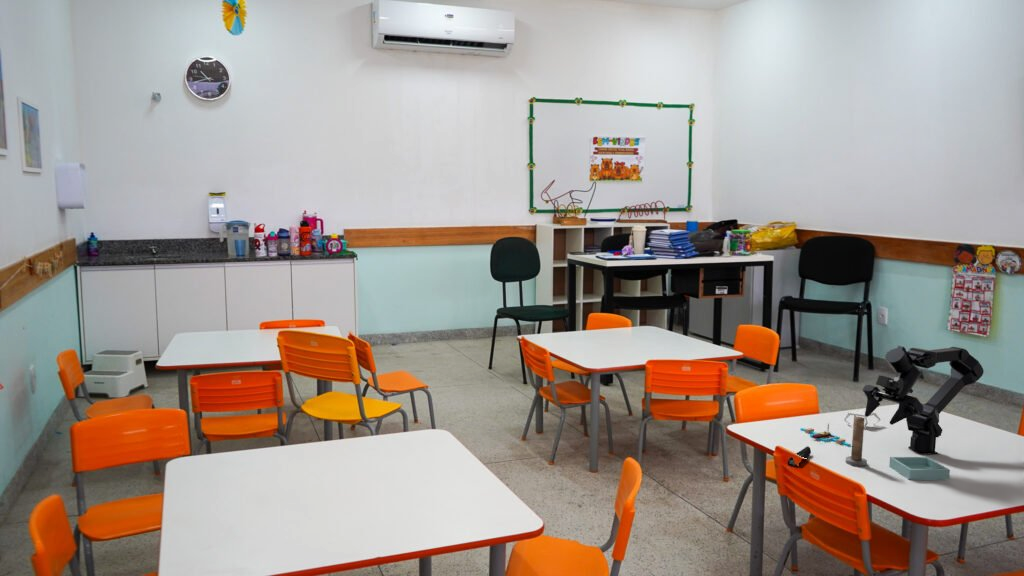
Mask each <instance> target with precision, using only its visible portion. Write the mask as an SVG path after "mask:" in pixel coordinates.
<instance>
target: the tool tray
mask: <svg viewBox="0 0 1024 576" xmlns="http://www.w3.org/2000/svg"><path fill="white" fill-rule="evenodd" d="M889 468H891V469H892V470H894V471H895V472H897V473H899V474H900V475H902V476H903V477H905V478H906V479H908V480H909V481H910V480H913V481H915V480H916V481H917V480H921V481H922V480H923V481H924V480H925V481H926V480H927V481H928V480H929V481H930V480H932V481H933V480H934V481H935V480H937V481H939V480H941V481H942V480H944V481H945V480H948V481H949V480H950V473H951V472H950V471H951V469H949V468H948V467H946V466H945V465H942V464H941V463H939V462H937V461H936V460H933V459H932V458H931V457H928V456H890V457H889Z"/></svg>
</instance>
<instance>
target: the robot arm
mask: <svg viewBox="0 0 1024 576" xmlns="http://www.w3.org/2000/svg"><path fill="white" fill-rule="evenodd" d="M884 358H885V361H886V362H887V363H888V364H889V366H890V367H891V368H892V370H893V371H894V372H895V373H897V374H896V375H895V377H894V376H891V377H889V376H885V375H882V374H879V375H878V377H877V380H876V382H875V385H871V384H865V385H864V386H863V388H862V389H861V390H862V392H863V393H864V395H865V396H866V399H867V401H866V402H867V403H866V406H865V411H864V412H865V416H866V418H868V417H870V416H869V415H870V414H871V413H874V411H875V410H876V409H877V408H878V407H880V405H881V403H880V402H882V401H883V400H887V401H889V402H892V403H896V404H898V408H897V410H896V411H895V412H894V414H893V416H892V417H891V419H890V420H889V424H890V425H892V426H893V425H894V424H897V423H899V422H901V421H902V420H903V421H904V419H906V420H905V421H906V425H907V430H908V431H911V432H912V435H911V436H910V440H909V441H910V443H909V444H910V445H909V446H908V449H909V450H911V451H913V452H914V453H916V454H918V455H939V452H938V451H936V445H937V444H936V443H937V442H936V441H937V438H939V437H941V436H942V433H943V428H942V427H941V425H940V414H941V412H942V411H943V410H944V409H945V408H946V407H947V406H949V404H950V403H951V402H952V400H953V399H955V397H956V396H957V395H958V394H959V393H960V392H961V391H962V389H964V387H966V386H969V385H973V384H975V383H976V382H977V381H978V380H980V379H981V378H982V377H983V375H984V368H983V366H982V364H981V362H979V360H978V359H977V358H975V357H974V356H972V355H971V354H970V353H969V351H968V350H967V349H965V348H962V347H957V346H951V347H946V348H938V349H925V348H919V347H917V348H916V347H910V348H909V349H908V350H907V348H905V347H904V346H902V345H898V346H897V347H896V348H895V347H894V348H893V349H890V350H889V351H887V352H886V353H885V357H884ZM947 362H949V363H948V364H949V366H950V367H951V368H950V376H949V378H948V379H947V380H946V381H945V382H944V383H943V384H942V386H940V387H939V388H938V389H937V391H935V393H934V394H933V395H932V396H931V397H930V398H929V399H928V400H927V402H926V403H921V401H920V400H919V399H918V398H917V397H916V396H913V395H909V394H913V392H914V390H913V387H914V385H915V384H916V383H917V381H918V380H922V381H923V380H924V379H925V375H924V374H923V373H924V371H923V370H920V369H919V368H923V369H925V370H926V369H930V368H932V367H933V368H934V367H935V366H936V365H937V364H940V363H947ZM878 386H879V387H881V389H882V391H883V392H882V391H881V390H880V388H879V387H878Z"/></svg>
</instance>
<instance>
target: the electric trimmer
mask: <svg viewBox="0 0 1024 576" xmlns="http://www.w3.org/2000/svg"><path fill="white" fill-rule="evenodd" d="M811 453H812V451H811V447H810V446H805V447H804V448H803V449H801V450H800V451H798V452H796V453H795V454H797V455H799V456H801V457H804V458H807V459H808V458H809V457H810V455H811ZM790 457H791V456H790ZM790 457H789V458H788V460H787V466H789V467H793V468H798V466H797V465H796V464H795V462H794V460H793V458H792V457H791V458H790Z"/></svg>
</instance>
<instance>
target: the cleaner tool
mask: <svg viewBox="0 0 1024 576" xmlns="http://www.w3.org/2000/svg"><path fill="white" fill-rule="evenodd" d="M864 426H865V417H863V416H856V417H854V416H853V425H852V441H851V455H850V456H849V455H848V456H846V457H845V464H848V465H850V466H853V467H860V468H861V467H866V466H867V463H868V461H867V460H868V459H866V458H864V457H862V456H863V447H864V446H863V445H864V444H863V443H864V432H865V431H864V430H865V429H864Z"/></svg>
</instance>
